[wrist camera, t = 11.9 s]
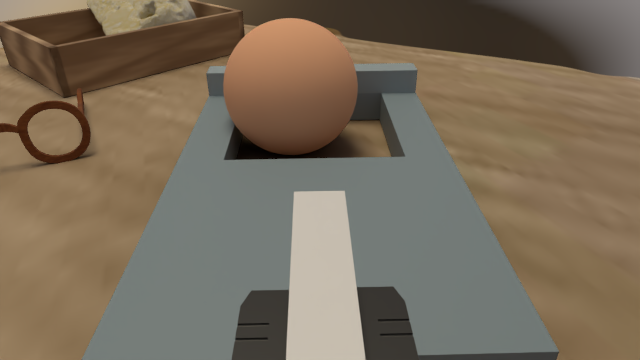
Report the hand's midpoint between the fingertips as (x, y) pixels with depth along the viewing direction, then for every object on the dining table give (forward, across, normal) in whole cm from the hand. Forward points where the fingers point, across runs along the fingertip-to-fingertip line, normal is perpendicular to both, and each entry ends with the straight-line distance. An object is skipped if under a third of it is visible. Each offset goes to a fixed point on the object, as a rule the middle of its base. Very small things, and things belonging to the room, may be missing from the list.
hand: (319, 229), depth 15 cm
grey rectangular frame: (+15, 0, -9) cm, 18 cm away
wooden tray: (+49, -23, -9) cm, 55 cm away
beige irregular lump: (+50, -23, -9) cm, 56 cm away
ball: (+23, -2, -4) cm, 23 cm away
